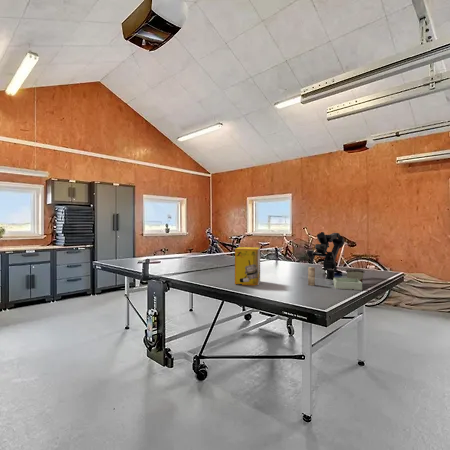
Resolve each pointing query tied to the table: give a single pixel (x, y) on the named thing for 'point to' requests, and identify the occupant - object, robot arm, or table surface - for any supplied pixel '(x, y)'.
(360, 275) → the food container
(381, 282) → the table surface
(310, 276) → the maple peg
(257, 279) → the packaging box
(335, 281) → the open box
